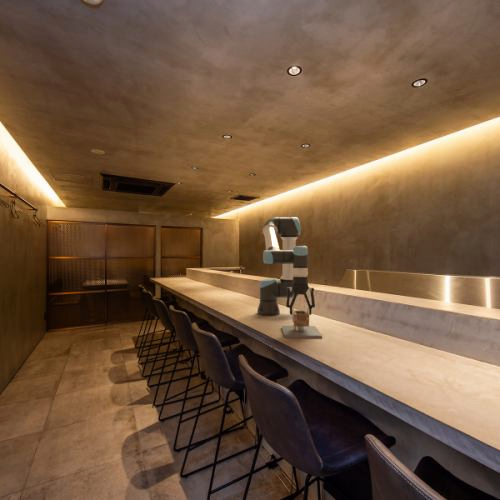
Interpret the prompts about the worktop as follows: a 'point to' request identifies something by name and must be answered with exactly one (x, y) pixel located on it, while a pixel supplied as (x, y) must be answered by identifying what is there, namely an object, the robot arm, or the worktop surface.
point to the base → (301, 332)
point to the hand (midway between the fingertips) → (300, 321)
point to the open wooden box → (301, 318)
